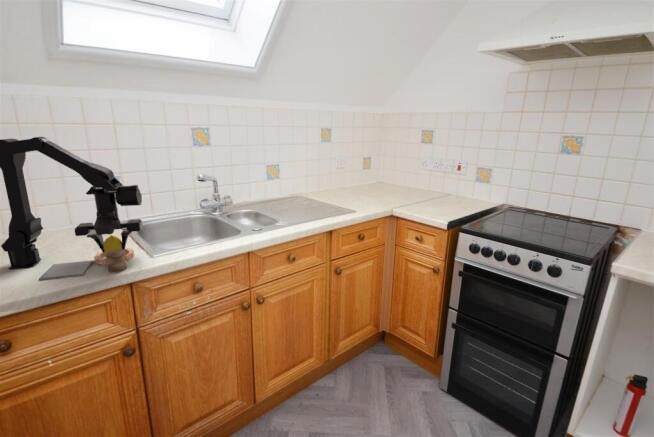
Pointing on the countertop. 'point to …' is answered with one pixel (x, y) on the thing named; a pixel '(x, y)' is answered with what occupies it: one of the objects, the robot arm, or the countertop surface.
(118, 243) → the lemon
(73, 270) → the slate coaster
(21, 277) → the countertop surface
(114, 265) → the walnut salt pot
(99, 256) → the c ring
